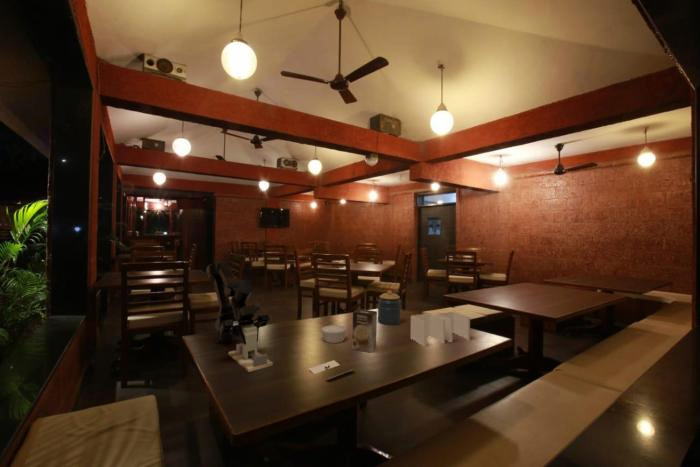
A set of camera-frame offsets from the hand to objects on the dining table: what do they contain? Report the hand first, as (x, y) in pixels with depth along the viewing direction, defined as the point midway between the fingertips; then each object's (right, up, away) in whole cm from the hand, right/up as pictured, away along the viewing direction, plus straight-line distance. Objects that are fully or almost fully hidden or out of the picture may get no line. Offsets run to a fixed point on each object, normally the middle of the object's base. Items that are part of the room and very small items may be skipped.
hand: (251, 342), depth 121 cm
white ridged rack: (-1, -7, +1) cm, 7 cm away
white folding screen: (+80, -8, +27) cm, 85 cm away
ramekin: (+30, -7, +25) cm, 40 cm away
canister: (+60, -8, +55) cm, 81 cm away
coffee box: (+44, -8, +14) cm, 47 cm away
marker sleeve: (-1, -6, +1) cm, 6 cm away
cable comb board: (-1, -7, +1) cm, 7 cm away
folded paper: (+31, -8, -9) cm, 33 cm away
